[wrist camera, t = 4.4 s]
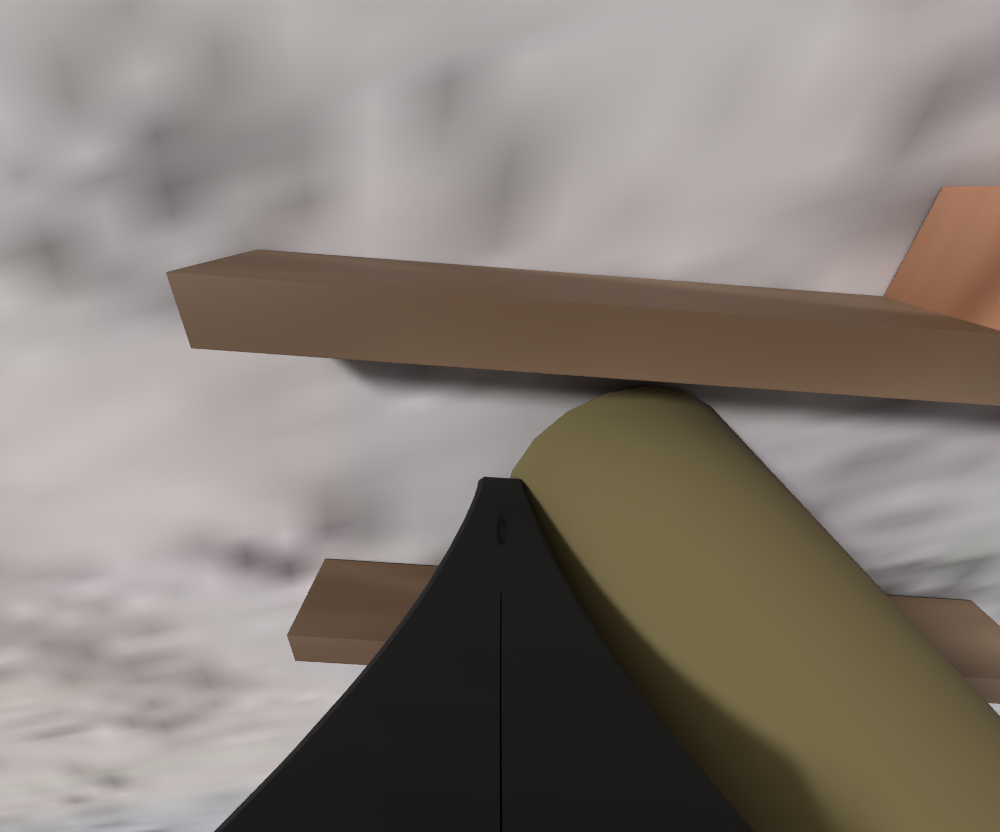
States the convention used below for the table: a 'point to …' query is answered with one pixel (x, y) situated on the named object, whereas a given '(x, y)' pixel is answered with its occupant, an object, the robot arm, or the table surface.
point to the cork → (756, 627)
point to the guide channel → (622, 363)
